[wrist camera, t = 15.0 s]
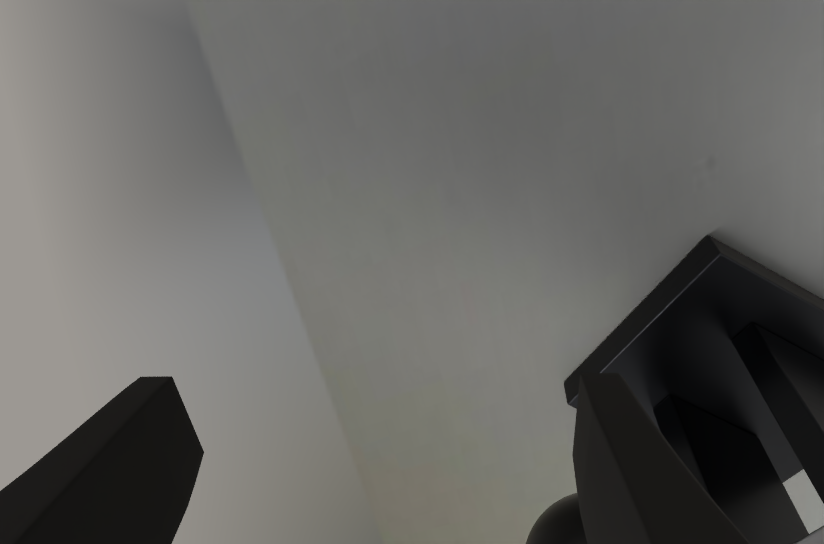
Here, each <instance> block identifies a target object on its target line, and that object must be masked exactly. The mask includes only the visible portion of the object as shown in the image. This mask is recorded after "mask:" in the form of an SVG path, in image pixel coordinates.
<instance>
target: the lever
mask: <svg viewBox="0 0 824 544" xmlns="http://www.w3.org/2000/svg"><path fill="white" fill-rule="evenodd" d="M526 544H587V540H586V536H585V531H584V527H583V523H582V519H581V514H580V508H579V500H578V493H575V494H572V495H569V496H566V497H564V498H562V499H561V500H559V501H557V502H555V503H554V504H552V505H551V506H550V507H549V508H548V509H547V510H546V511H545V512H544V513H543V514H542V515H541V516H540V517H539V518H538V520H537V521H536V523H535V524H534V526H533V528H532V530H531V532H530V534H529V536H528V539H527V542H526ZM793 544H824V526H822V527H821V528H819V529H817V530H815V531H814V532H812V533H810V534H809V535H807V536H805V537H804V538H802V539H800V540H798V541H797V542H795V543H793Z"/></svg>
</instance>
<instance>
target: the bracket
mask: <svg viewBox="0 0 824 544" xmlns="http://www.w3.org/2000/svg"><path fill="white" fill-rule="evenodd" d="M580 373H619V374H620V375H621V376H622V377H623V378H624V379H625V380H626V382H627V384H628V385H629V387H630V388H631V390H632V391H633V393H634V394H635V396H636V397H637V399H638V400H639V402H640V403H641V405H642V406H643V408H644V409H645V411H646V412H647V414H648V415H649V416H650V418H651V419H652V421H653V422H654V424H655V425H656V426H657V428H658V429H659V430H660V432H661V433H662V435H663V436H664V437H665V439H666V440H667V442H668V443H669V444H670V446H671V447H672V448H673V450H674V451H675V452H676V454H677V455H678V456H679V457H680V459H681V460H682V461H683V463H684V464H685V465H686V466H687V468H688V469H689V470H690V471H691V473H692V474H693V475H694V476H695V478H696V479H697V480H698V482H699V483H700V484H701V485H702V487H703V488H704V489H705V490H706V492H707V493H708V494H709V495H710V496H711V498H712V499H713V500H714V501H715V502H716V504H717V505H718V506H719V507H720V509H721V510H722V511H723V512H724V513H725V514H726V516H727V517H728V518H729V519H730V520H731V521H732V522H733V524H734V525H735V526H736V527H737V528H738V529H739V530H740V532H741V533H742V534H743V535H744V536H745V537H746V539H747V540H748V541H749V542H750V543H751V544H793V543H795V542H797V541H798V540H800V539H802V538H804V537H805V536H807V535H809V533H808V531H807V530H806V528H805V526H804V524H803V522H802V520H801V518H800V516H799V514H798V512H797V510H796V508H795V507H794V505H793V503H792V501H791V499H790V497H789V495H788V493H787V491H786V489H785V487H784V485H783V484H782V483H783V482H785V481H786V480H788V479H789V478H791V477H792V476H794V475H795V474H797V473H798V472H800V471H801V470H803V469H804V470H805V472H806V473H807V475H808V477H809V479H810V480H811V482H812V484H813V486H814V487H815V489H816V491H817V493H818V494H819V496H820V498H821V500H822V502H823V503H824V300H823V299H821V298H819V297H817V296H815V295H814V294H812V293H810V292H808V291H807V290H805V289H803V288H801V287H800V286H798V285H796V284H794V283H792V282H791V281H789V280H787V279H785V278H784V277H782V276H780V275H778V274H777V273H775V272H773V271H771V270H769V269H768V268H766V267H764V266H762V265H761V264H759V263H757V262H755V261H753V260H752V259H750V258H748V257H746V256H745V255H743V254H741V253H739V252H738V251H736V250H734V249H732V248H730V247H729V246H727V245H725V244H723V243H722V242H720V241H718V240H716V239H715V238H713V237H711V236H706V237H705V238H704V239H703V240H702V241H701V242H700V243H699V244H698V245H697V246H696V247H695V248H694V250H693V251H692V252H691V253H690V254H689V255H688V256H687V257H686V258H685V259H684V260H683V261H682V262H681V263H680V264H679V265H678V266H677V267H676V268H675V269H674V270H673V271H672V272H671V273H670V274H669V275H668V276H667V277H666V278H665V279H664V280H663V281H662V282H661V283H660V284H659V285H658V287H657V288H656V289H655V290H654V291H653V292H652V293H651V294H650V295H649V296H648V297H647V298H646V299H645V300H644V301H643V302H642V303H641V304H640V305H639V306H638V307H637V308H636V309H635V310H634V311H633V312H632V313H631V314H630V315H629V316H628V317H627V318H626V319H625V320H624V321H623V322H622V323H621V325H620V326H619V327H618V328H617V329H616V330H615V331H614V332H613V333H612V334H611V335H610V336H609V337H608V338H607V339H606V340H605V341H604V342H603V343H602V344H601V345H600V346H599V347H598V348H597V349H596V350H595V351H594V352H593V353H592V354H591V355H590V356H589V357H588V358H587V359H586V360H585V362H584V363H583V364H582V365H581V366H580V367H579V368H578V369H577V370H576V371H575V372H574V373H573V374H572V375H571V376H570V377H569V378H568V379H567V380H566V381H565V382H564V388H565V393H566V398H567V403H568V405H570V406H572V407H575V408H577V403H578V393H579V382H580Z"/></svg>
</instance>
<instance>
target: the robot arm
mask: <svg viewBox="0 0 824 544" xmlns="http://www.w3.org/2000/svg"><path fill="white" fill-rule="evenodd" d="M203 454H204V451H203V449H202V446H201V444H200V442H199V439H198V437H197V435H196V432H195V430H194V428H193V425H192V423H191V420H190V418H189V416H188V413H187V411H186V409H185V406H184V404H183V402H182V399H181V397H180V395H179V392H178V390H177V387H176V385H175V383H174V380H173V378H172V377H140V378H138V379H137V380H136V381H135V382H133V383H132V384H131V385H129V386H128V387H127V388H125V389H124V390H123V391H122V392H121V393H119V394H118V395H117V396H116V397H115V398H113V399H112V400H111V401H110V402H108V403H107V404H106V405H105V406H104V407H102V408H101V409H100V410H99V411H98V412H96V413H95V414H94V415H93V416H92V417H90V418H89V419H88V420H87V421H86V422H85V423H83V424H82V425H81V426H80V427H79V428H77V429H76V430H75V431H74V432H73V433H72V434H70V435H69V436H68V437H67V438H66V439H64V440H63V441H62V442H61V443H59V444H58V445H57V446H56V447H55V448H53V449H52V450H51V451H50V452H49V453H48V454H46V455H45V456H44V457H43V458H41V459H40V460H39V461H38V462H37V463H36V464H34V465H33V466H32V467H30V468H29V469H28V470H27V471H25V472H24V473H23V474H22V475H20V476H19V477H18V478H16V479H15V480H14V481H13V482H11V483H10V484H9V485H8V486H6V487H5V488H4V489H2V490H1V491H0V544H171V543H172V541H173V539H174V537H175V534H176V532H177V530H178V527H179V525H180V523H181V521H182V518H183V516H184V514H185V511H186V509H187V506H188V503H189V501H190V497H191V494H192V491H193V488H194V485H195V482H196V478H197V475H198V471H199V467H200V464H201V461H202V457H203ZM573 462H574V470H575V478H576V486H577V493H578V500H579V508H580V514H581V519H582V523H583V527H584V531H585V536H586V540H587V544H751V543H750V542H749V541H748V540H747V539H746V537H745V536H744V535H743V534H742V533H741V532H740V530H739V529H738V528H737V527H736V526H735V525H734V524H733V522H732V521H731V520H730V519H729V518H728V517H727V516H726V514H725V513H724V512H723V511H722V510H721V509H720V507H719V506H718V505H717V504H716V502H715V501H714V500H713V499H712V498H711V496H710V495H709V494H708V493H707V492H706V490H705V489H704V488H703V487H702V485H701V484H700V483H699V482H698V480H697V479H696V478H695V476H694V475H693V474H692V473H691V471H690V470H689V469H688V468H687V466H686V465H685V464H684V463H683V461H682V460H681V459H680V457H679V456H678V455H677V454H676V452H675V451H674V450H673V448H672V447H671V446H670V444H669V443H668V442H667V440H666V439H665V437H664V436H663V435H662V433H661V432H660V430H659V429H658V428H657V426H656V425H655V424H654V422H653V421H652V419H651V418H650V416H649V415H648V414H647V412H646V411H645V409H644V408H643V406H642V405H641V403H640V402H639V400H638V399H637V397H636V396H635V394H634V393H633V391H632V390H631V388H630V387H629V385H628V384H627V382H626V380H625V379H624V378H623V377H622V376H621V375H620V374H619V373H580V382H579V393H578V403H577V414H576V424H575V435H574V445H573Z"/></svg>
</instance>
